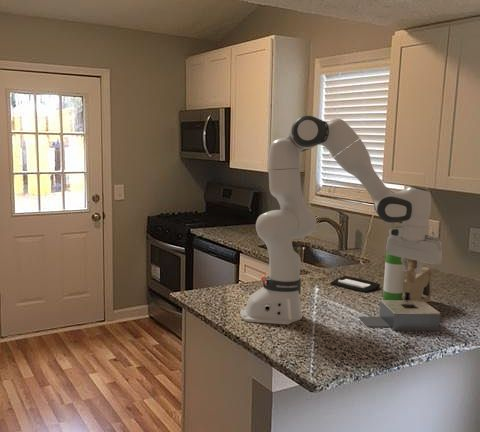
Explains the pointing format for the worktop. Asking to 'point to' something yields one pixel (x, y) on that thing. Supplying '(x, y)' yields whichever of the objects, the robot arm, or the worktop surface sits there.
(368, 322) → the mat
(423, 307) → the grey box with hole
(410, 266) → the tan rounded peg
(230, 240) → the worktop surface
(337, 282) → the light switch
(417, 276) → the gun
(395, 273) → the wine bottle
